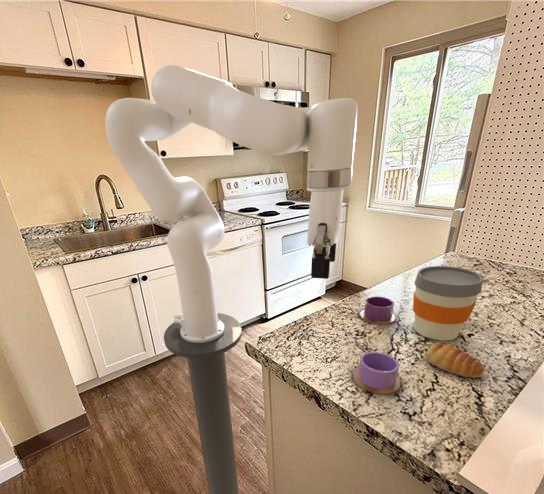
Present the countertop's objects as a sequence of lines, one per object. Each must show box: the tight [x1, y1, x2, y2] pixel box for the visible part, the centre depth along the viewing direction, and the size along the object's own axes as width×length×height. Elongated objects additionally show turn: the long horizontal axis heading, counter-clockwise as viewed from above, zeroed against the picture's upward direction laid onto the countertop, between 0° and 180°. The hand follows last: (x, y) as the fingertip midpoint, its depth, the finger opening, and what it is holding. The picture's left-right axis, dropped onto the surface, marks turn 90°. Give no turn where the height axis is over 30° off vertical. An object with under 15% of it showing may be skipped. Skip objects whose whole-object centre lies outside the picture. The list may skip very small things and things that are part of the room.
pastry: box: [425, 341, 485, 379], centre depth 64 cm, size 9×7×4 cm
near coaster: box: [352, 366, 402, 395], centre depth 64 cm, size 9×9×1 cm
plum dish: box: [363, 296, 395, 321], centre depth 85 cm, size 7×7×4 cm
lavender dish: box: [358, 351, 400, 389], centre depth 63 cm, size 7×7×4 cm
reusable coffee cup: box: [412, 265, 484, 341], centre depth 74 cm, size 13×13×15 cm
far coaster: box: [359, 308, 396, 325], centre depth 86 cm, size 9×9×1 cm
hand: (323, 268), depth 63 cm, fingers open, 9 cm apart
